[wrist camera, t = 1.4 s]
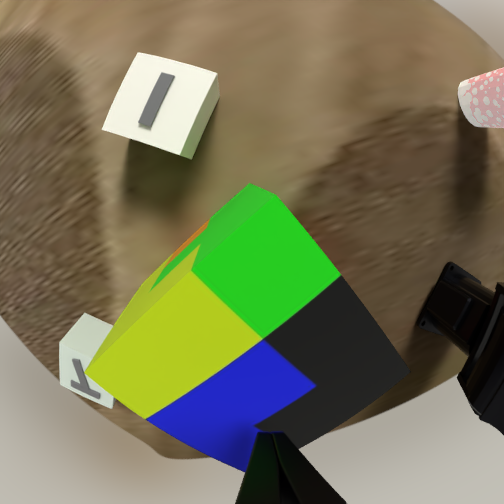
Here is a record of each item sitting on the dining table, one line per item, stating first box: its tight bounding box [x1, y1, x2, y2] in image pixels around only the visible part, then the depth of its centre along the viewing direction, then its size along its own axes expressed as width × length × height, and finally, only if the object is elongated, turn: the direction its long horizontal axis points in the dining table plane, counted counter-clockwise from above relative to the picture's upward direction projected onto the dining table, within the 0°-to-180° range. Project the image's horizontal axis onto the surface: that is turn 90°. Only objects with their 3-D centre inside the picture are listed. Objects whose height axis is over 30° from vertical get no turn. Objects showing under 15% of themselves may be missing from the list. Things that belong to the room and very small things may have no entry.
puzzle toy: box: [84, 183, 411, 472], centre depth 15 cm, size 10×10×10 cm
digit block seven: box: [59, 313, 116, 409], centre depth 18 cm, size 4×4×5 cm
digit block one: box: [102, 52, 220, 160], centre depth 14 cm, size 4×4×5 cm
